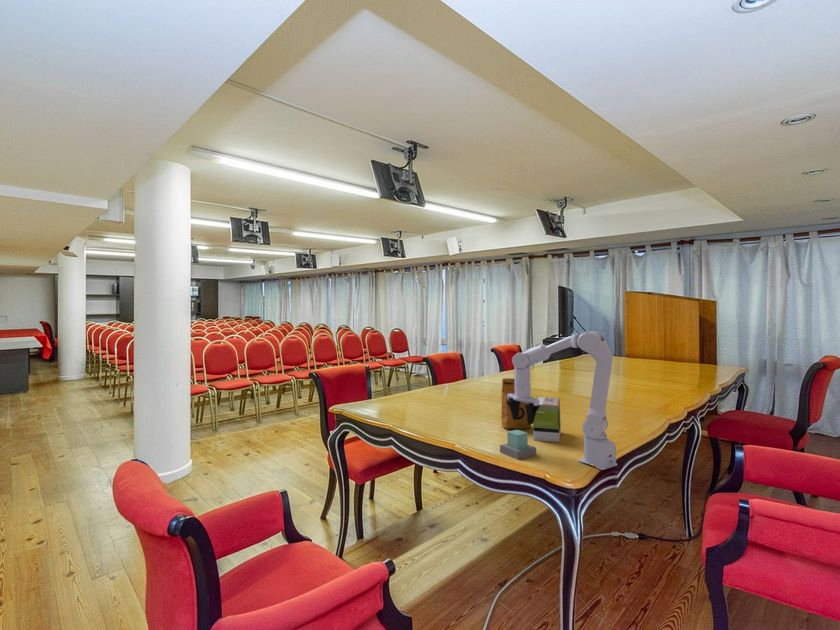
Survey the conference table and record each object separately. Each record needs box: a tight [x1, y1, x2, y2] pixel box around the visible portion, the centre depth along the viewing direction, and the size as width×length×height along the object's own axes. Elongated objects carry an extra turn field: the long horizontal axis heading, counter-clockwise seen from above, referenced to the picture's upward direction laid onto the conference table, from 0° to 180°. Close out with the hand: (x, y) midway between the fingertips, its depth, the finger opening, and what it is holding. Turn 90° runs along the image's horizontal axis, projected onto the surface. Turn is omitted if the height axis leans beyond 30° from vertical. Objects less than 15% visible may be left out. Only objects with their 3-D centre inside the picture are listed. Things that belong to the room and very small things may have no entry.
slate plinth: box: [499, 442, 537, 460], centre depth 148 cm, size 9×9×3 cm
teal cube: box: [506, 429, 529, 449], centre depth 148 cm, size 5×5×5 cm
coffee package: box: [500, 377, 532, 430], centre depth 181 cm, size 10×12×22 cm
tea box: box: [532, 396, 562, 443], centre depth 168 cm, size 15×10×15 cm, turn 159°
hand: (522, 421), depth 152 cm, fingers open, 7 cm apart
